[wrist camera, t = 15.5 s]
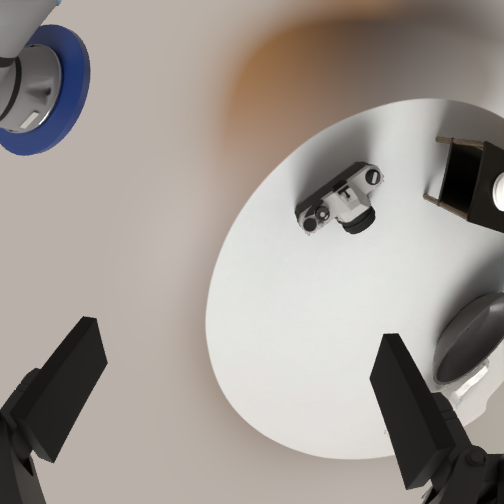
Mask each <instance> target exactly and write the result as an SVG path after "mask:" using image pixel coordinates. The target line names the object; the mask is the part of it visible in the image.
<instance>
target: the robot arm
mask: <svg viewBox="0 0 504 504" xmlns="http://www.w3.org/2000/svg"><path fill="white" fill-rule="evenodd" d="M60 3H61V0H0V128H3V129H5V130H7V131H9V132H12V133H28V132H32V131H34V130H36V129H38V128H39V127H41V126H42V125H43V124H44V123H45V122H46V121H47V120H48V119H49V117H50V116H51V115H52V113H53V112H54V110H55V108H56V106H57V104H58V102H59V99H60V96H61V93H62V89H63V82H64V69H63V64H62V61H61V58H60V56H59V55H58V53H57V52H56V51H55V50H54V49H52V48H51V47H49V46H45V45H41V44H31V45H26V44H27V42H28V41H29V39H30V38H31V37H32V35H33V34H34V33H35V31H36V30H37V29H38V27H39V26H40V25H41V24H42V22H43V21H44V20H45V19H46V17H47V16H48V15H49V14H50V12H51V11H52V10H53V9H54V8H55V7H56V6H58V5H59V4H60ZM25 45H26V46H25ZM107 363H108V362H107V359H106V355H105V351H104V348H103V344H102V340H101V336H100V332H99V328H98V323H97V319H96V318H90V317H84V316H83V317H82V318H81V319H80V321H79V322H78V323H77V324H76V326H75V327H74V328H73V329H72V330H71V331H70V333H69V334H68V335H67V336H66V338H65V339H64V340H63V341H62V343H61V344H60V345H59V346H58V348H57V349H56V350H55V352H54V353H53V354H52V355H51V357H50V358H49V359H48V361H47V362H46V363H45V364H44V366H43V367H42V368H41V369H38V368H35V369H33V370H32V371H31V372H29V373H28V374H27V375H26V376H25V377H24V378H23V380H22V381H21V384H19V385H18V386H17V388H16V390H14V392H13V393H12V394H11V396H10V397H9V398H8V400H7V401H6V402H5V404H4V405H3V407H2V408H1V409H0V504H46V502H45V499H44V496H43V493H42V490H41V487H40V483H39V480H38V477H37V473H36V470H35V466H34V463H33V459H32V457H31V455H30V453H31V452H32V450H34V451H35V453H36V454H37V456H38V457H39V458H41V459H44V460H46V461H49V462H51V463H54V462H55V460H56V458H57V456H58V454H59V452H60V450H61V448H62V446H63V444H64V442H65V440H66V438H67V436H68V434H69V432H70V431H71V429H72V427H73V425H74V423H75V421H76V419H77V417H78V415H79V413H80V412H81V410H82V408H83V406H84V404H85V403H86V401H87V399H88V397H89V395H90V393H91V391H92V390H93V388H94V386H95V385H96V383H97V381H98V379H99V378H100V376H101V374H102V372H103V371H104V369H105V367H106V365H107ZM369 379H370V381H371V384H372V387H373V390H374V393H375V395H376V398H377V401H378V404H379V407H380V410H381V413H382V416H383V418H384V421H385V424H386V427H387V430H388V433H389V436H390V439H391V443H392V446H393V449H394V452H395V455H396V458H397V461H398V465H399V468H400V471H401V475H402V478H403V481H404V485H405V488H406V490H408V489H413V488H418V487H421V486H424V485H425V484H426V483H427V481H428V480H429V479H431V482H432V485H433V486H431V487H430V489H429V490H428V491H427V492H426V493H425V494H424V495H423V496H422V499H424V498H425V499H424V501H423V503H422V504H504V454H487V453H486V452H485V450H483V449H482V448H481V447H479V446H474V445H472V444H471V442H470V440H469V438H468V436H467V434H466V432H465V430H464V428H463V426H462V424H461V422H460V420H459V418H457V415H456V413H455V411H453V407H452V405H451V403H450V402H449V400H448V399H447V398H446V397H445V396H444V395H443V394H442V393H441V392H437V393H431V392H430V390H429V388H428V386H427V385H426V383H425V381H424V379H423V377H422V375H421V373H420V371H419V370H418V368H417V366H416V364H415V362H414V360H413V359H412V357H411V355H410V353H409V351H408V350H407V348H406V346H405V344H404V343H403V341H402V339H401V337H400V336H399V334H398V333H393V334H383V337H382V340H381V344H380V347H379V350H378V354H377V357H376V360H375V363H374V366H373V369H372V372H371V375H370V378H369Z"/></svg>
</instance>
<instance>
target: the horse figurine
mask: <svg viewBox="0 0 504 504" xmlns="http://www.w3.org/2000/svg"><path fill="white" fill-rule="evenodd" d="M488 366H489V361H488V359H487V358H486V359H485V360H484V361H483V362H482V363H481V364H480V365H479V366H478V368H477V369H475V370H474V371H473V372H471V373H469V374H468V375H466V376H464V377H462V378H461V379H459V380H457V381H455V382H454V383H452V384H451V385H450V386H448V387H447V388H446V389H445V390H443V391H442V392H441V393H442V394H443V395H444V396H445V397H446V398H447V399H448V400H449V402H450V403H451V405H452V407H453V411H455V410H456V409H457V406H458V403H459V401H460V398H459V397H461V396H462V395H463V394H464V393H465V392H466V391H467V390H468V389H469V388H470V387H471V386H472V385H473V384H475V383H476V382H477V381H478V380H479V379H480V378H481V377H482V376H483V375H484V374H485V373H486V372H487V371H488ZM386 435H388V436H389V433H388V432H387V431H386V430H385V433H384V436H386Z"/></svg>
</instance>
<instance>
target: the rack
mask: <svg viewBox="0 0 504 504" xmlns="http://www.w3.org/2000/svg"><path fill="white" fill-rule="evenodd" d="M436 141H437V142H442V143H451V144H450V149H449V154H448V159H447V164H446V169H445V173H444V178H443V182H442V186H441V190H440V194H439V198H438V199H436V198H434V197H431V196H429V195H427V194H424V195H423V198H424V199H426V200H428V201H430V202H432V203H434V204H436V205H437V206H439V207H442V208H444V209H446V210H448V211H450V212H452V213H454V214H456V215H457V216H459V217H461V218H463V219H465V220H466V221H468V222H471V223H474V224H477V225H480V226H483V227H486V228H490V229H493V230H496V231H499V232H502V233H504V211H501V210H499V209H498V208H497V207H496V205H495V203H494V200H493V186H494V183H495V181H496V179H497V177H498V176H499V175H500V174H502V173H504V150H503V149H501V148H499V147H497V146H495V145H493V144H491V143H489V142H487V141H484V142H483V141H475V140H466V139H456V138H445V137H436ZM476 147H480V148H483V150H481V149H479V148H476Z"/></svg>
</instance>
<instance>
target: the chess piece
mask: <svg viewBox="0 0 504 504" xmlns="http://www.w3.org/2000/svg"><path fill="white" fill-rule="evenodd" d="M493 200H494V203H495V205H496V207H497V208H498V209H499V210H501V211H504V173H502V174H500V175H499V176H498V177H497V179H496V181H495V183H494V186H493Z"/></svg>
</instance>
